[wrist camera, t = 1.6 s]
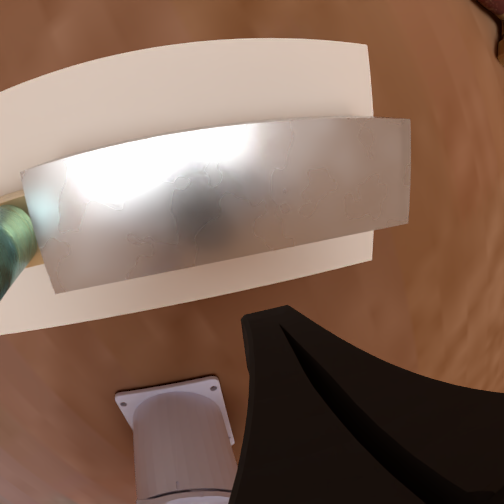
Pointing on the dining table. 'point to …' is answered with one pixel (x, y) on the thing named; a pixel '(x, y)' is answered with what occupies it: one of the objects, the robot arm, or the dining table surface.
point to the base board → (166, 120)
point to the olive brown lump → (500, 3)
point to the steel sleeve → (215, 195)
